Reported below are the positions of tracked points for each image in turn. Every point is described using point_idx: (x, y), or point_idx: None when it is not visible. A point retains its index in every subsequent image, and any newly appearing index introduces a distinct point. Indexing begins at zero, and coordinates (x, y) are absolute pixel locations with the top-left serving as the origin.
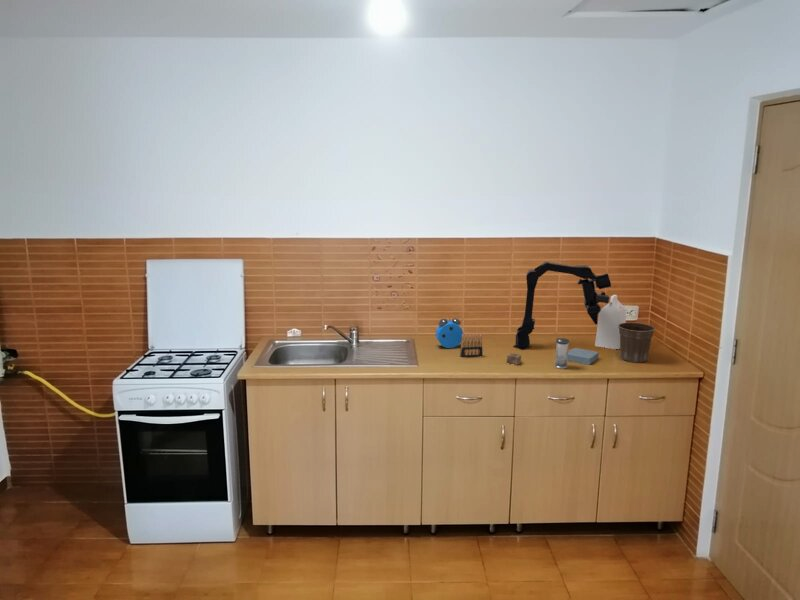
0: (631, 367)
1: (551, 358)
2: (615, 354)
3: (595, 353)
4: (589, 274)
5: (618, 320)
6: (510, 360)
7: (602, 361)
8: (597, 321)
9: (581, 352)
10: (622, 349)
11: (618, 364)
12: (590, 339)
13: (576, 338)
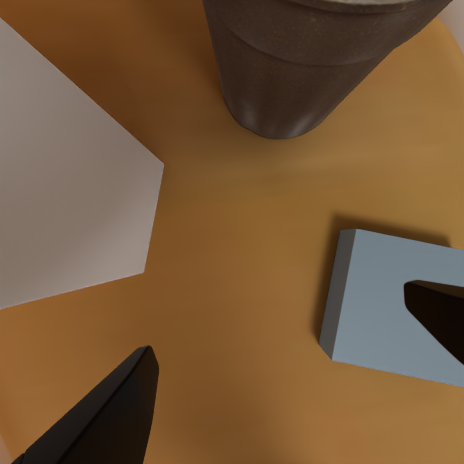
0: (403, 83)
1: (439, 428)
2: (243, 165)
3: (383, 241)
4: None
5: (26, 58)
6: None
7: (376, 206)
8: (460, 286)
9: (399, 311)
10: (340, 101)
11: (387, 137)
12: (38, 309)
13: (50, 379)
